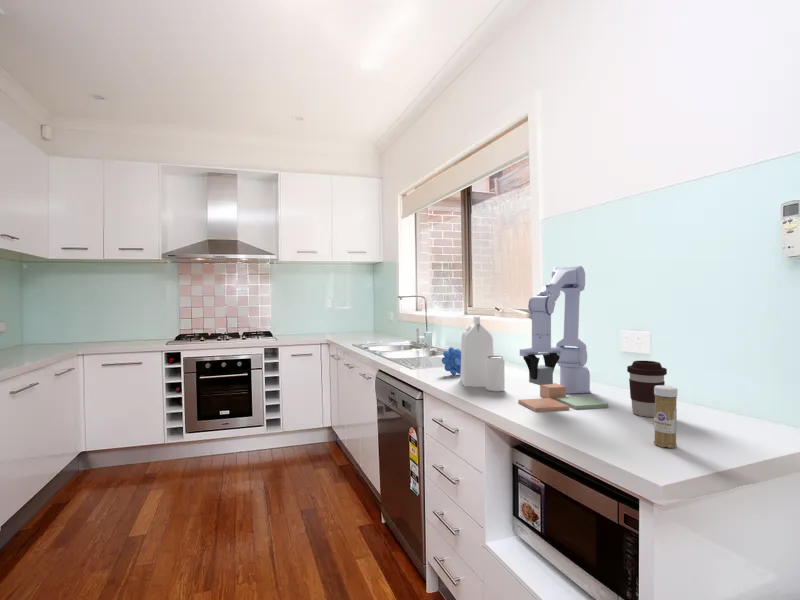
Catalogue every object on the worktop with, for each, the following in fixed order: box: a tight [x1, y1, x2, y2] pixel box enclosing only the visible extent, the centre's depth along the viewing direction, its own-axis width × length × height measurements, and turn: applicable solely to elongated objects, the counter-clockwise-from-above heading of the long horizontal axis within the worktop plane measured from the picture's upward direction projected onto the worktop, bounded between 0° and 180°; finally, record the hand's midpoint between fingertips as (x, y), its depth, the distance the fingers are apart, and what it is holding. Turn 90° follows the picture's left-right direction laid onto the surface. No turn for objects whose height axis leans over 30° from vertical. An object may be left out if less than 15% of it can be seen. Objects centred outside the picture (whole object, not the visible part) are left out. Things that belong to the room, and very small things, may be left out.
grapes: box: [441, 346, 461, 376], centre depth 193 cm, size 12×7×12 cm, turn 113°
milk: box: [459, 315, 495, 388], centre depth 175 cm, size 12×12×26 cm
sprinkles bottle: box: [653, 384, 678, 449], centre depth 103 cm, size 5×5×14 cm
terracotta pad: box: [517, 397, 570, 413], centre depth 140 cm, size 11×11×1 cm
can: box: [485, 355, 506, 393], centre depth 163 cm, size 6×6×12 cm
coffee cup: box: [626, 360, 668, 418], centre depth 130 cm, size 10×10×15 cm
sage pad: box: [556, 395, 609, 410], centre depth 142 cm, size 11×11×1 cm
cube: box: [528, 365, 554, 386], centre depth 141 cm, size 5×5×5 cm
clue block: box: [539, 382, 567, 400], centre depth 151 cm, size 6×6×4 cm
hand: (541, 378), depth 140 cm, fingers closed on cube, 5 cm apart
